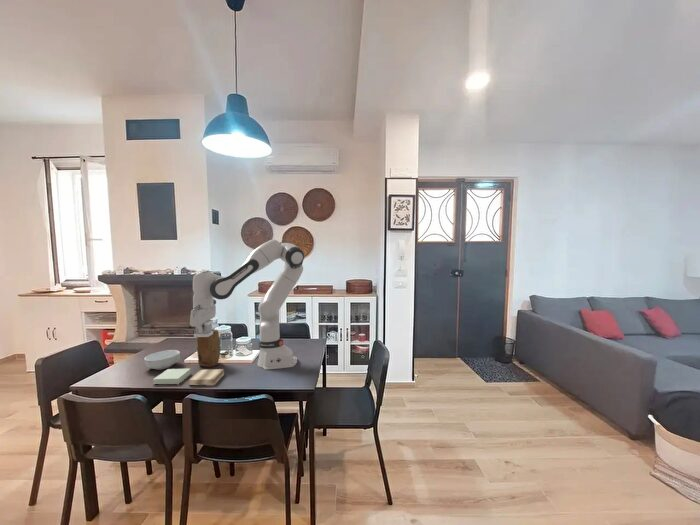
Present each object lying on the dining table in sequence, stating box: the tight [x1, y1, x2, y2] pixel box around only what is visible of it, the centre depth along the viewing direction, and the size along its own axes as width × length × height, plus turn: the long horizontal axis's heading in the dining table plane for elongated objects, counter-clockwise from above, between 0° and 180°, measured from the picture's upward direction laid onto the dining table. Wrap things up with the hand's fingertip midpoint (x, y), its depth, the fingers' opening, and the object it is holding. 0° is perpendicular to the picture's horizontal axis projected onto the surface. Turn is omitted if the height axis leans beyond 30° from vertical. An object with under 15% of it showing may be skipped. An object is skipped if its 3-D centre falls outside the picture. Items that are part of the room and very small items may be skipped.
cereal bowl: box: [143, 349, 181, 370], centre depth 162 cm, size 17×17×7 cm
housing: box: [193, 319, 214, 338], centre depth 144 cm, size 7×6×7 cm
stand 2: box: [188, 368, 225, 386], centre depth 145 cm, size 12×12×3 cm
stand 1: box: [152, 368, 192, 385], centre depth 146 cm, size 12×12×3 cm
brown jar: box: [196, 328, 221, 368], centre depth 164 cm, size 11×8×20 cm
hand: (203, 330), depth 144 cm, fingers closed on housing, 5 cm apart
